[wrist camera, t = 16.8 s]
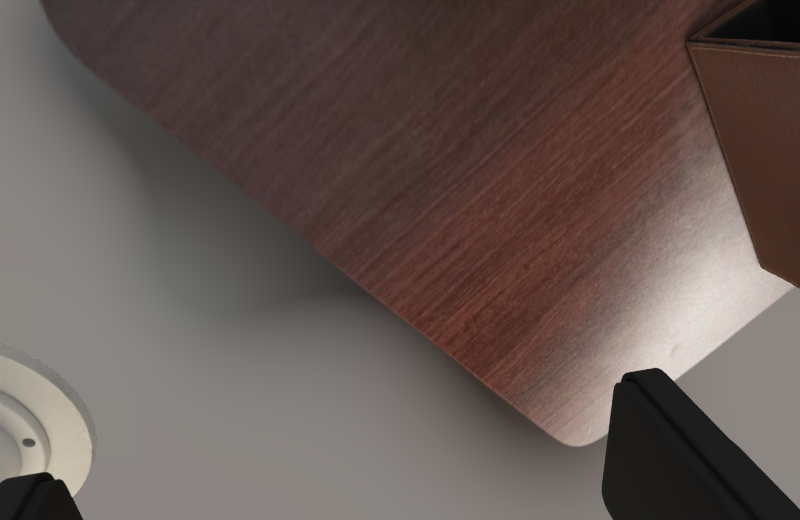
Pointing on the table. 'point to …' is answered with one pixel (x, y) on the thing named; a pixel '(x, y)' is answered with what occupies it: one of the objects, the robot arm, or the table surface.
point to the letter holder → (758, 119)
